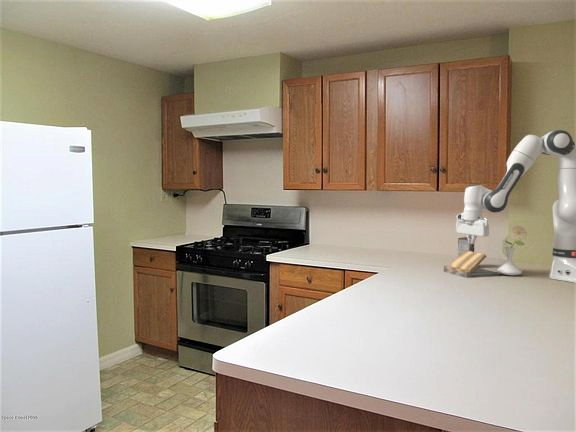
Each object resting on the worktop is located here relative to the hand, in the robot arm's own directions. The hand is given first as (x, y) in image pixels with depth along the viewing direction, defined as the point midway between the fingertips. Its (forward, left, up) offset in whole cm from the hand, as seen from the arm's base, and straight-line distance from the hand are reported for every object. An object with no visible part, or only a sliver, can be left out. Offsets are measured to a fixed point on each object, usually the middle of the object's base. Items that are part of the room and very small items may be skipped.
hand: (471, 243), depth 239 cm
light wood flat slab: (0, +2, -9) cm, 10 cm away
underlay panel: (0, 0, -15) cm, 15 cm away
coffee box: (+17, -12, -15) cm, 26 cm away
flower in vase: (-10, -17, -15) cm, 25 cm away
